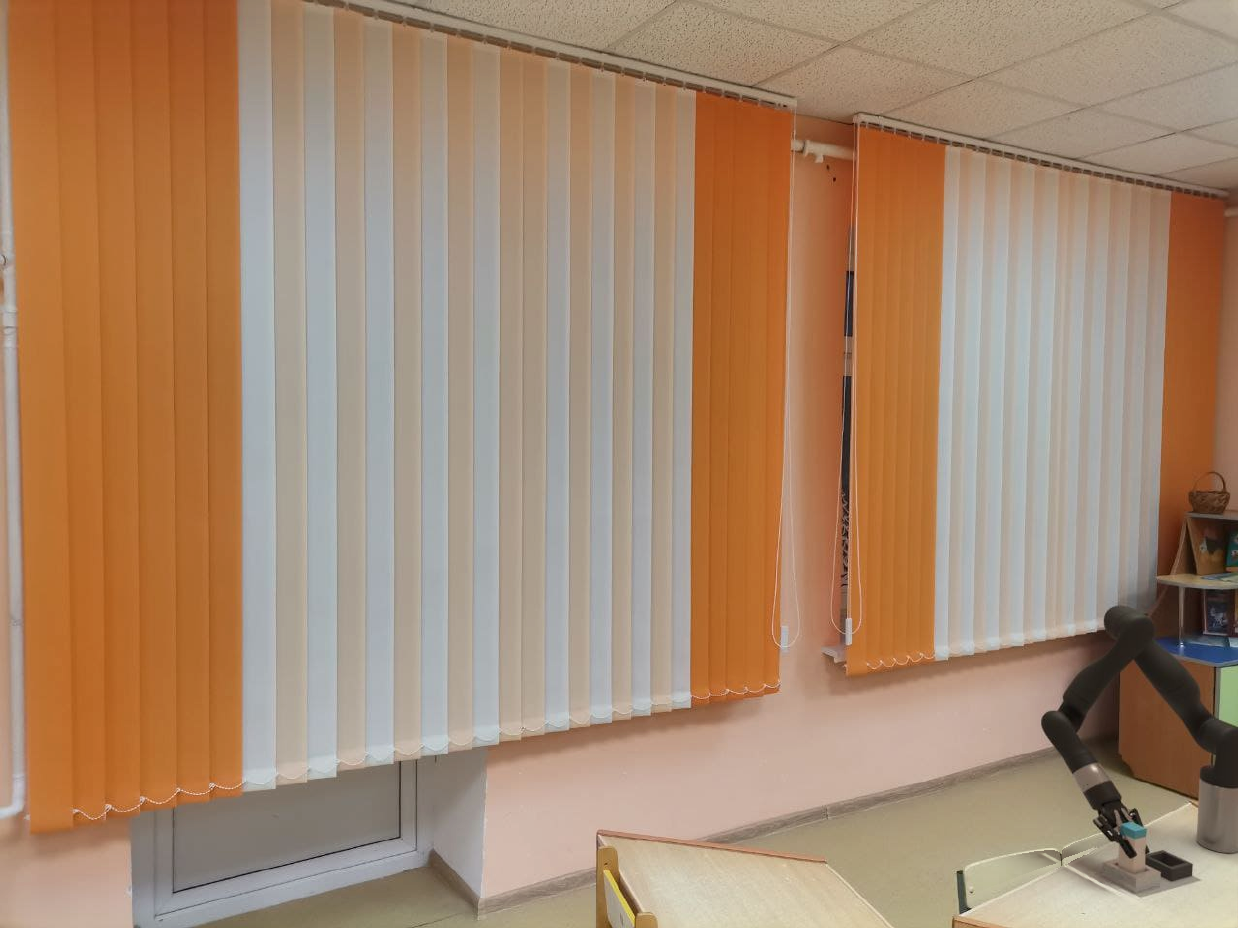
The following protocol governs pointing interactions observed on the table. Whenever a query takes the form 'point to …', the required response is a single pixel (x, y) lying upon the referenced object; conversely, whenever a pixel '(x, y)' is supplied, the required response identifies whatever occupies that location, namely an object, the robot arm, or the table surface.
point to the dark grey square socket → (1169, 865)
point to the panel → (1164, 885)
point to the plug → (1138, 842)
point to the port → (1131, 877)
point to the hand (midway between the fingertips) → (1139, 854)
